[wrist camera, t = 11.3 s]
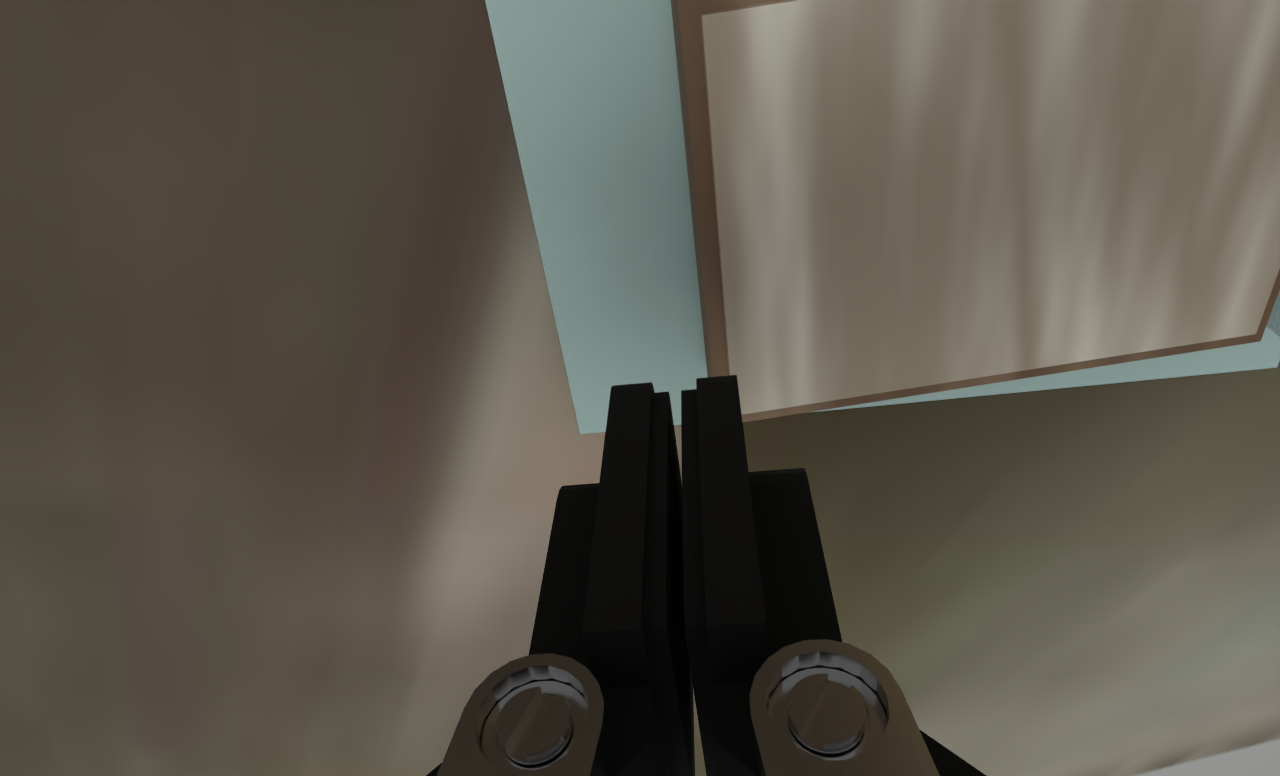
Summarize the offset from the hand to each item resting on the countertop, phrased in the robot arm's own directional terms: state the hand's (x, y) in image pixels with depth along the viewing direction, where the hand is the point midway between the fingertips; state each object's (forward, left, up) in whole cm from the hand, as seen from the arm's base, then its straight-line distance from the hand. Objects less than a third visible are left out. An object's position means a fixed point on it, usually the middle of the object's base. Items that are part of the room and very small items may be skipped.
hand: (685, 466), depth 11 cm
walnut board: (-14, 0, -10) cm, 17 cm away
